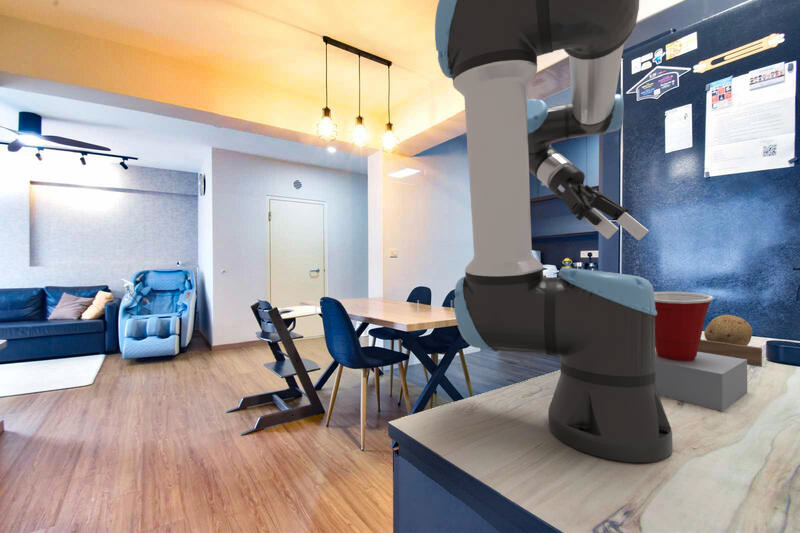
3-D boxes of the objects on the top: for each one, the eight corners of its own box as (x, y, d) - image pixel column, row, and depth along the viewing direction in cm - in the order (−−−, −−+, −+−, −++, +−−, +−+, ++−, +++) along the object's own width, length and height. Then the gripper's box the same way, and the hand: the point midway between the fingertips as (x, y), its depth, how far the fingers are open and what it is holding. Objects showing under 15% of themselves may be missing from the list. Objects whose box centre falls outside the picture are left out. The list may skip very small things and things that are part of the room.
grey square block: (722, 411, 58) (722, 374, 58) (627, 386, 69) (627, 355, 69) (747, 392, 66) (747, 359, 66) (658, 373, 77) (658, 345, 77)
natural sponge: (702, 353, 92) (702, 314, 92) (706, 347, 98) (706, 311, 98) (751, 360, 85) (751, 318, 85) (753, 353, 92) (753, 314, 91)
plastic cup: (633, 357, 68) (633, 294, 68) (648, 347, 75) (648, 290, 75) (709, 369, 60) (709, 298, 60) (717, 357, 68) (717, 293, 67)
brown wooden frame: (731, 386, 69) (731, 349, 69) (643, 367, 81) (642, 336, 81) (762, 365, 82) (762, 334, 81) (681, 352, 94) (681, 325, 94)
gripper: (578, 194, 97) (641, 248, 84) (519, 184, 83) (584, 247, 70) (598, 170, 92) (668, 223, 80) (539, 155, 78) (612, 217, 66)
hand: (629, 234), depth 75 cm, fingers open, 13 cm apart
